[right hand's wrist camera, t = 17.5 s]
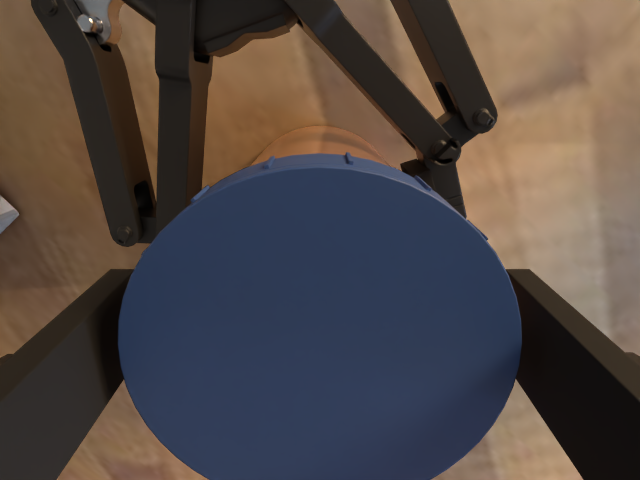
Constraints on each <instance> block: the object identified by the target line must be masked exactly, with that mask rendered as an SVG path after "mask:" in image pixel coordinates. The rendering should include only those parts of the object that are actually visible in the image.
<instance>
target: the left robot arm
mask: <svg viewBox="0 0 640 480" xmlns="http://www.w3.org/2000/svg"><path fill="white" fill-rule="evenodd" d="M391 2H392V4H393V6H394V9H395V11H396V13H397V15H398V17H399V19H400V21H401V23H402V25H403V27H404V29H405V31H406V33H407V35H408V37H409V39H410V41H411V43H412V46H413V48H414V50H415V52H416V54H417V56H418V58H419V60H420V62H421V64H422V66H423V68H424V70H425V72H426V74H427V76H428V78H429V80H430V83H431V85H432V87H433V89H434V91H435V93H436V95H437V97H438V99H439V101H440V103H441V105H442V107H443V109H444V111H445V113H444V114H443V115H442V116H440V117H439V118H438V119H435V118H434V117H433V116H432V114H431V113H430V112H429V111H428V110H427V109H426V108H425V106H424V105H423V104H422V103H421V102H420V101H419V100H418V99H417V97H416V96H415V95H414V94H413V93H412V92H411V91H410V89H409V88H408V87H407V86H406V85H405V84H404V83H403V81H402V80H401V79H400V78H399V77H398V76H397V75H396V73H395V72H394V71H393V70H392V69H391V68H390V67H389V65H388V64H387V63H386V62H385V61H384V60H383V59H382V58H381V56H380V55H379V54H378V53H377V52H376V51H375V50H374V48H373V47H372V46H371V45H370V44H369V43H368V42H367V40H366V39H365V38H364V37H363V36H362V35H361V34H360V32H359V31H358V30H357V29H356V28H355V27H354V26H353V25H352V23H351V22H350V21H349V20H348V19H347V18H346V17H345V15H344V14H343V13H342V11H341V10H340V8H339V6H338V5H337V4H336V2H335V1H334V0H31V5H32V8H33V10H34V13H35V14H36V16H37V18H38V19H39V21H40V22H41V24H42V26H43V27H44V29H45V31H46V32H47V34H48V35H49V37H50V39H51V40H52V42H53V44H54V45H55V47H56V48H57V50H58V52H59V53H60V55H61V57H62V58H63V60H64V64H65V67H66V71H67V75H68V78H69V82H70V86H71V90H72V93H73V97H74V101H75V104H76V108H77V112H78V115H79V119H80V123H81V126H82V130H83V134H84V138H85V141H86V145H87V149H88V152H89V156H90V160H91V163H92V167H93V171H94V174H95V178H96V182H97V186H98V189H99V193H100V197H101V200H102V204H103V208H104V211H105V215H106V219H107V222H108V226H109V230H110V234H111V236H112V238H113V240H114V241H115V242H116V243H117V244H119V245H121V246H126V247H129V246H133V245H134V244H135V243H152V241H153V240H154V239H155V238H156V236H157V235H158V234H159V232H160V231H162V230H163V229H164V228H165V227H166V226H167V225H168V224H169V223H170V222H171V221H172V220H173V219H174V218H175V217H176V216H177V215H178V214H180V213H181V212H182V211H183V210H184V209H185V208H186V207H187V206H188V205H190V204H191V203H192V202H191V201H190V200H191V199H192V198H193V197H194V196H195V195H196V194H198V193H199V192H200V191H201V189H202V174H203V158H204V142H205V127H206V111H207V96H208V85H209V82H210V80H211V76H212V63H213V56H217V57H222V56H225V55H228V54H231V53H233V52H236V51H238V50H239V49H241V48H242V47H243V46H245V45H246V44H247V43H249V42H250V41H251V40H253V39H266V38H274V37H277V36H280V35H283V34H285V33H288V32H290V30H289V29H290V28H291V27H293V26H294V25H295V24H296V23H297V24H298V25H299V26H300V27H301V28H302V29H303V30H304V31H305V32H306V33H307V35H308V36H309V37H310V38H311V39H312V40H313V41H314V42H315V43H316V44H317V45H318V46H319V47H320V48H321V49H322V50H323V51H324V52H325V53H326V54H327V55H328V56H329V57H330V59H331V60H332V61H333V62H334V63H335V64H336V65H337V66H338V67H339V68H340V69H341V70H342V72H343V73H344V74H345V75H346V76H347V77H348V78H349V79H350V80H351V81H352V82H353V84H354V85H355V86H356V87H357V88H358V89H359V90H360V91H361V92H362V93H363V94H364V96H365V97H366V98H367V99H368V100H369V101H370V102H371V103H372V104H373V105H374V106H375V107H376V109H377V110H378V111H379V112H380V113H381V114H382V115H383V116H384V117H385V118H386V119H387V121H388V122H389V123H390V124H391V125H392V126H393V127H394V128H395V129H396V130H397V131H398V133H399V134H400V135H401V136H402V137H403V138H404V139H405V140H406V141H407V142H408V143H409V144H410V146H411V147H412V148H413V149H414V150H415V151H416V154H417V158H418V160H417V159H414V160H411V161H408V162H405V163H401V164H400V165H401V169H402V172H404V173H406V174H408V175H410V176H412V177H413V178H414V177H415V176H416V175H417V176H418V177H420V178H421V179H422V180H423V181H424V182H425V183H426V184H427V185H429V186H430V187H431V188H432V190H433V191H435V192H436V193H438V194H439V195H440V196H441V197H442V198H443V199H444V200H445V201H447V202H448V203H449V204H450V205H451V206H452V207H453V208H454V209H455V210H457V211H458V212H459V213H460V214H461V215H462V216H463V217H464V218H465V219H466V217H467V216H466V211H465V206H464V201H463V197H462V192H461V187H460V182H459V178H458V173H457V168H456V161H457V160H458V159H459V157H460V154H461V147H462V146H463V145H464V144H465V143H466V142H468V141H469V140H471V139H472V138H473V137H475V136H476V135H477V134H479V133H485V132H488V131H489V130H490V129H491V128H493V126H494V125H495V123H496V121H497V116H498V115H497V110H496V107H495V105H494V103H493V101H492V98H491V96H490V94H489V92H488V89H487V87H486V85H485V83H484V80H483V78H482V76H481V74H480V71H479V69H478V67H477V65H476V62H475V60H474V58H473V56H472V53H471V51H470V49H469V47H468V44H467V42H466V40H465V38H464V35H463V33H462V31H461V29H460V26H459V24H458V22H457V20H456V17H455V15H454V13H453V10H452V8H451V6H450V4H449V1H448V0H391ZM124 3H126V4H127V5H128V6H130V7H131V8H132V9H134V10H135V11H136V12H138V13H139V14H141V15H142V16H143V17H145V18H146V19H147V20H149V21H150V22H151V23H153V24H154V25H155V26H156V35H155V69H156V73H157V75H158V78H159V123H158V162H157V202H156V199H155V195H154V190H153V186H152V181H151V177H150V172H149V168H148V163H147V159H146V154H145V150H144V145H143V141H142V136H141V132H140V127H139V123H138V118H137V114H136V110H135V105H134V101H133V96H132V92H131V87H130V83H129V78H128V74H127V70H126V66H125V63H124V60H123V57H122V55H121V52H120V50H119V48H118V46H117V43H118V42H119V40H120V39H121V36H122V29H121V25H120V22H119V11H120V8H121V7H122V5H123V4H124Z"/></svg>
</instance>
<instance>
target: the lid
mask: <svg viewBox="0 0 640 480" xmlns="http://www.w3.org/2000/svg"><path fill="white" fill-rule="evenodd" d="M190 201H191V202H192V203H191V204H190V205H188V206H187V207H186V208H185V209H184V210H183V211H182V212H181V213H180V214H178V215H177V216H176V217H175V218H174V219H173V220H172V221H171V222H170V223H169V224H168V225H167V226H166V227H165V228H164V229H163V230H162V231H160V232H159V234H158V235H157V236H156V238H155V239H154V240H153V241H152V243H151V244H150V245H149V246H148V248H147V249H145V250H144V251H143V253H142V254H141V255H142V256H141V258H140V260H139V262H138V264H137V265H136V267H135V269H134V271H133V273H132V274H131V277H130V279H129V282H128V285H127V288H126V290H125V293H124V296H123V300H122V305H121V310H120V315H119V320H118V350H119V358H120V366H121V370H122V373H123V377H124V380H125V384H126V387H127V389H128V392H129V394H130V396H131V398H132V401H133V403H134V405H135V407H136V409H137V410H138V412H139V414H140V415H141V417H142V418H143V420H144V422H145V423H146V425H147V426H148V427H149V429H150V430H151V431H152V432H153V434H154V435H155V436H156V437H157V438H158V440H159V441H160V442H161V443H162V444H163V445H164V446H165V447H166V448H167V449H168V450H169V451H170V452H171V453H172V454H174V455H175V456H176V457H177V458H178V459H179V460H181V461H182V462H183V463H185V464H186V465H187V466H189V467H190V468H191V469H193V470H194V471H196V472H197V473H199V474H201V475H202V476H204V477H206V478H207V479H209V480H431V479H432V478H434V477H436V476H437V475H439V474H441V473H442V472H444V471H446V470H447V469H448V468H450V467H451V466H452V465H454V464H455V463H456V462H458V461H459V460H460V459H462V458H463V457H464V456H465V455H466V454H467V453H468V452H469V451H470V450H471V449H472V448H473V447H474V446H476V445H477V444H478V443H479V442H480V440H481V439H482V438H483V437H484V435H485V434H486V433H487V432H488V431H489V429H490V428H491V427H492V426H493V424H494V423H495V421H496V419H497V418H498V416H499V415H500V413H501V411H502V410H503V408H504V406H505V404H506V402H507V400H508V397H509V395H510V393H511V391H512V388H513V386H514V382H515V379H516V375H517V371H518V368H519V363H520V354H521V346H522V334H521V318H520V312H519V307H518V302H517V297H516V294H515V292H514V289H513V286H512V284H511V281H510V278H509V276H508V273H507V272H506V270H505V268H504V266H503V265H502V263H501V261H500V259H499V257H498V256H497V254H496V252H495V251H494V250H493V248H492V247H491V246H490V245H489V243H488V242H487V240H488V238H487V237H486V236H485V235H484V234H483V233H482V232H481V231H480V230H479V229H477V228H476V227H475V226H474V225H473V224H472V223H471V222H470V221H469V220H466V219H465V218H464V217H463V216H462V215H461V214H460V213H459V212H458V211H457V210H455V209H454V208H453V207H452V206H451V205H450V204H449V203H448V202H447V201H445V200H444V199H443V198H442V197H441V196H440V195H439V194H438V193H436V192H435V191H433V190H432V188H431V187H430V186H429V185H427V184H426V183H425V182H424V181H423V180H422V179H421V178H420V177H418V176H417V175H416V176H415V177H414V178H413V177H412V176H410V175H408V174H406V173H404V172H402V171H400V170H398V169H396V168H393V167H390V166H387V165H384V164H381V163H378V162H375V161H373V160H368V159H363V158H358V157H353V156H351V154H350V153H349V152H346V153H345V155H339V154H323V153H316V154H301V155H291V156H286V157H281V158H276V159H275V156H271V157H270V158H269V159H268V160H267V161H264V162H261V163H258V164H255V165H253V166H250V167H247V168H244V169H242V170H240V171H238V172H236V173H234V174H232V175H230V176H228V177H226V178H224V179H222V180H220V181H219V182H218V183H216V184H215V185H213V186H212V187H209V186H208V185H207V186H206V187H205V188H203V189H202V190H201V191H200V192H199V193H198V194H196V195H195V196H194V197H193V198H192V199H191V200H190Z"/></svg>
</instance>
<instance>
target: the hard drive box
mask: <svg viewBox="0 0 640 480" xmlns="http://www.w3.org/2000/svg"><path fill="white" fill-rule="evenodd" d="M18 216H19V213H18V211H17V210H16V209H15V208H14V207H13V206H11V205H10V204H9V203H8V202H7V201H6V200H5V199H4V198H3V197H2V196H1V195H0V233H1V232H2V231H4V230H5V229H6V228H7V227H8V226H9V225H10V224H11V223H12V222H13V221H14V220H15V219H16V218H17V217H18Z"/></svg>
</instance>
